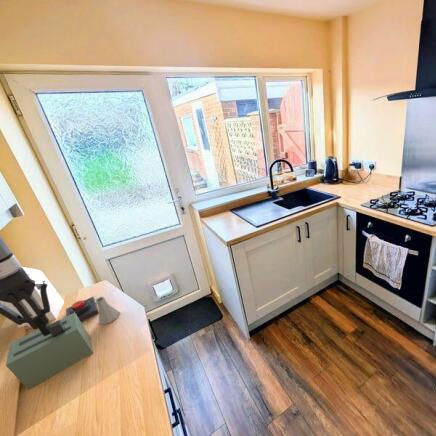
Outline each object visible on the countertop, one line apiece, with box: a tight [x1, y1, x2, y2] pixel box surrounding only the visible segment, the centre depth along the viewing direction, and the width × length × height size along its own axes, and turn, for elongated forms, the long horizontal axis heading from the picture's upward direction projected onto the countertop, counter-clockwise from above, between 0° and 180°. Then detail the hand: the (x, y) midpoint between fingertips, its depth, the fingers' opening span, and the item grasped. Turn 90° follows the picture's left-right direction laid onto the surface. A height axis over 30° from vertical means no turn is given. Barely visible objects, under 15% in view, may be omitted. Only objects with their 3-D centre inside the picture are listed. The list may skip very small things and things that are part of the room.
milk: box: [1, 266, 65, 330], centre depth 102 cm, size 12×12×26 cm
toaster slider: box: [47, 319, 65, 337], centre depth 80 cm, size 2×3×4 cm
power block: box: [65, 296, 99, 323], centre depth 105 cm, size 12×10×4 cm
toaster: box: [5, 313, 94, 391], centre depth 83 cm, size 11×17×12 cm, turn 133°
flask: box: [95, 296, 121, 325], centre depth 100 cm, size 7×7×10 cm
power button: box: [71, 299, 85, 310], centre depth 104 cm, size 4×4×2 cm
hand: (47, 332), depth 79 cm, fingers closed
